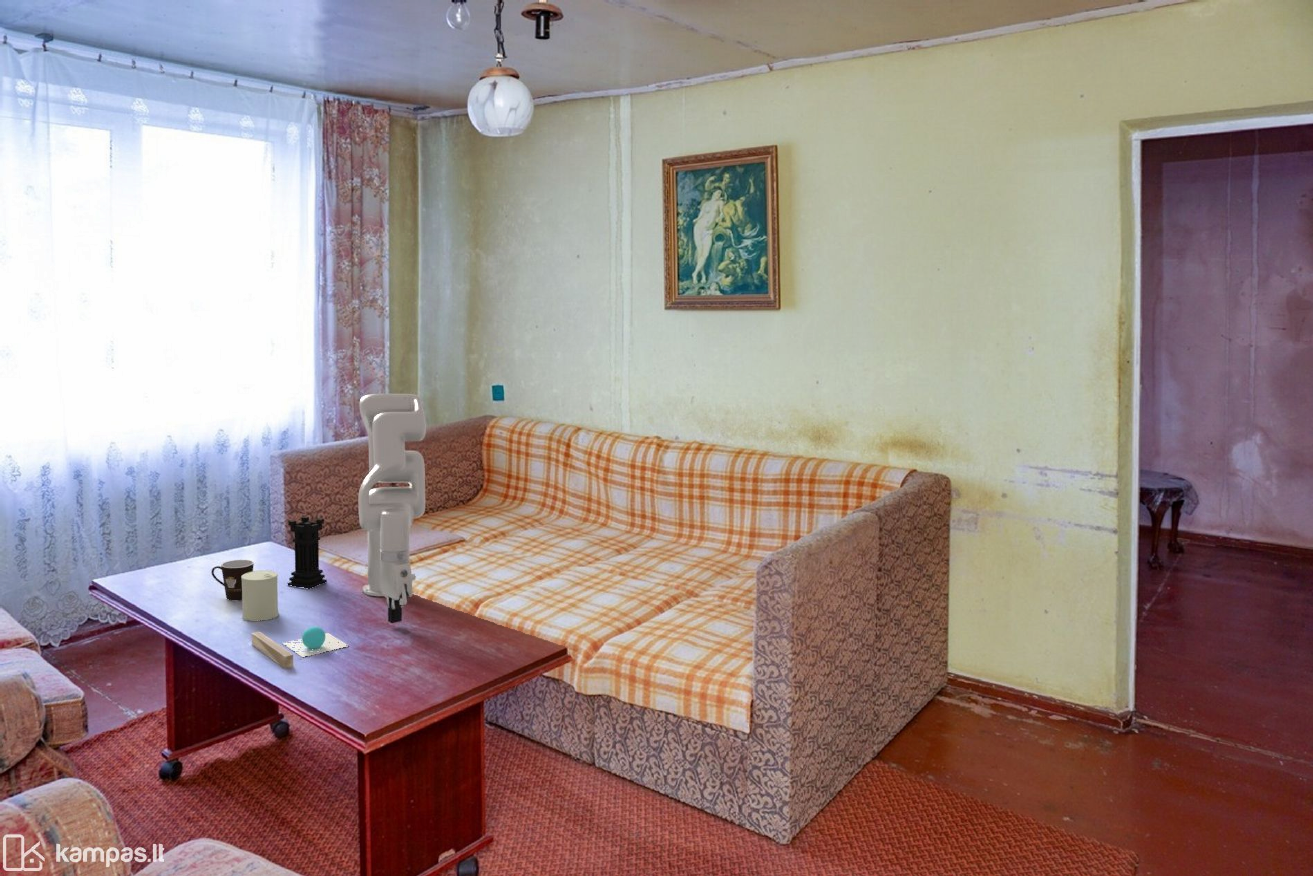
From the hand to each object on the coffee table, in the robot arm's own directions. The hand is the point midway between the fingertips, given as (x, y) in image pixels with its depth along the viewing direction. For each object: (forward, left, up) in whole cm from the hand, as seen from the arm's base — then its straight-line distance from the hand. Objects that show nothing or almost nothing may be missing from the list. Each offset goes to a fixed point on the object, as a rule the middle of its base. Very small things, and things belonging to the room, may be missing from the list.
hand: (394, 621), depth 250 cm
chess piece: (+2, -50, -2) cm, 50 cm away
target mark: (+22, 0, -2) cm, 22 cm away
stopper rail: (+33, 0, -2) cm, 33 cm away
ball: (+23, +2, +1) cm, 23 cm away
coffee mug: (+23, -51, -2) cm, 56 cm away
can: (+24, -30, -2) cm, 38 cm away
